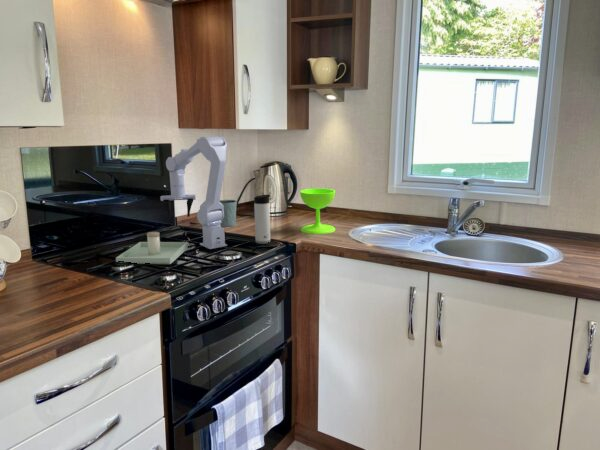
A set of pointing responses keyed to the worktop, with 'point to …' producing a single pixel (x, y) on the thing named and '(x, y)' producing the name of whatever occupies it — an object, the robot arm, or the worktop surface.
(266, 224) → the travel mug
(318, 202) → the wineglass
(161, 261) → the tray
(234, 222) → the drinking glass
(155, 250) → the spice pot
